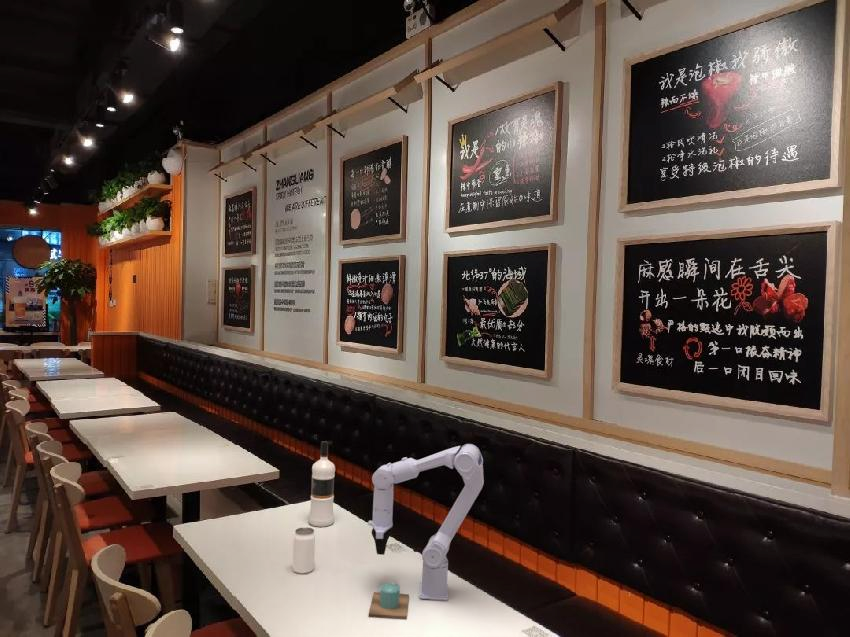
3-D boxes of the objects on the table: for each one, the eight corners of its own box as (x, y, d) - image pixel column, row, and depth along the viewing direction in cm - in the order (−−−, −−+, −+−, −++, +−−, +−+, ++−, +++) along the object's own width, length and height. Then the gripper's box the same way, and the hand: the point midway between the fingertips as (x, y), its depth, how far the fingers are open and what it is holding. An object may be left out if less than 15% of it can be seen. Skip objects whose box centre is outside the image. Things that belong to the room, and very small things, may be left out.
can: (315, 565, 194) (316, 527, 194) (312, 574, 188) (313, 535, 187) (294, 564, 194) (295, 526, 194) (290, 573, 188) (292, 534, 187)
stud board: (373, 594, 177) (374, 582, 177) (408, 597, 177) (409, 584, 177) (368, 616, 165) (369, 603, 165) (406, 619, 165) (406, 606, 165)
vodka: (327, 529, 223) (330, 445, 222) (303, 525, 226) (307, 442, 225) (338, 520, 232) (341, 440, 231) (315, 516, 235) (318, 437, 233)
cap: (380, 598, 174) (381, 582, 174) (399, 599, 174) (400, 583, 174) (378, 608, 169) (379, 591, 169) (398, 609, 169) (398, 592, 168)
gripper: (372, 498, 190) (370, 542, 190) (366, 515, 175) (363, 563, 176) (395, 499, 189) (393, 544, 190) (391, 517, 175) (389, 565, 176)
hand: (380, 553), depth 183 cm, fingers closed
